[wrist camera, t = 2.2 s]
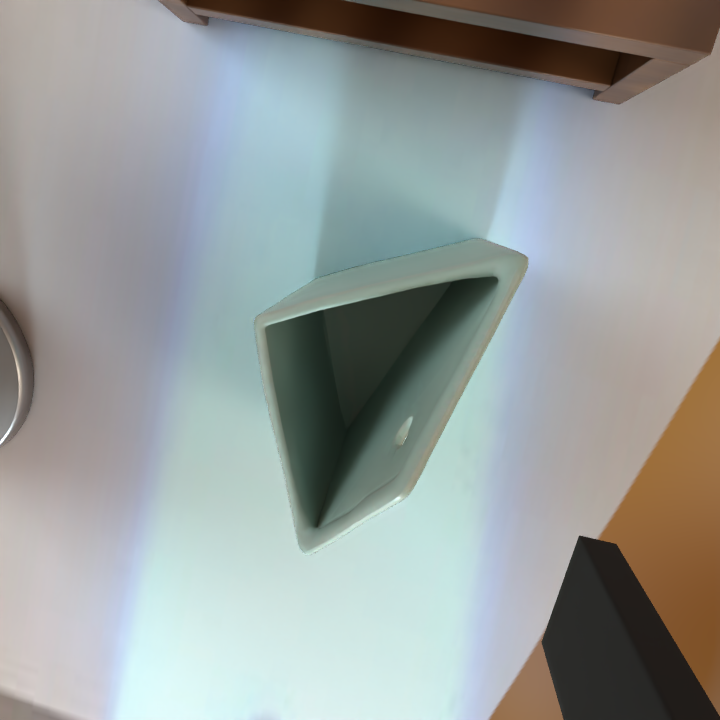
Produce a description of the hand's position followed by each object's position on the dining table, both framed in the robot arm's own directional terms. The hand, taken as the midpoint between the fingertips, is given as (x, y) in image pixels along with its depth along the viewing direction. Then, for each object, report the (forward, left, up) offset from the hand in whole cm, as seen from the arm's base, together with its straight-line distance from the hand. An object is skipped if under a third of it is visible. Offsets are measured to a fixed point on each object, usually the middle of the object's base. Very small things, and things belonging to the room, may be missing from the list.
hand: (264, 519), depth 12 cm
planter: (0, 0, -25) cm, 25 cm away
